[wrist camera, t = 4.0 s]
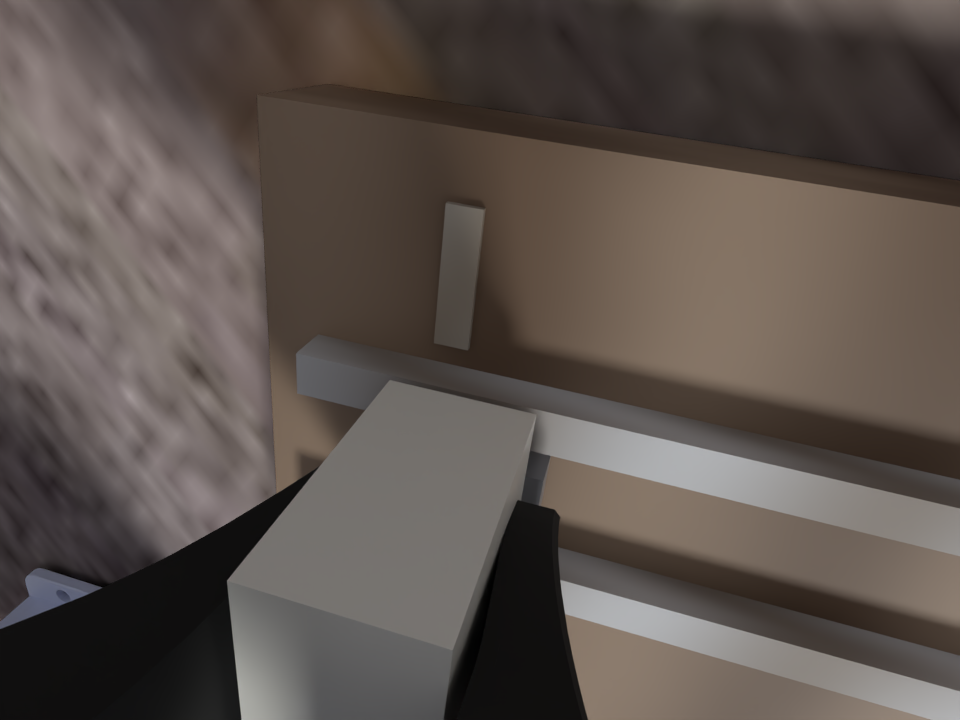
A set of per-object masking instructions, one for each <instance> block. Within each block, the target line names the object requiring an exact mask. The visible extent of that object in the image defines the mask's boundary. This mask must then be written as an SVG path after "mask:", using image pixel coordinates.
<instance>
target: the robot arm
mask: <svg viewBox="0 0 960 720" xmlns="http://www.w3.org/2000/svg"><path fill="white" fill-rule="evenodd" d="M319 467H320V466H319ZM319 467H317V468H316V469H314V470H313V471H311V472H310V473H308V474H306V475H305V476H303V477H302V478H300V479H299V480H297V481H296V482H294V483H292V484H291V485H289V486H288V487H286V488H285V489H283V490H281V491H280V492H278V493H277V494H275V495H273V496H272V497H270V498H269V499H267V500H265V501H264V502H262V503H261V504H259V505H257V506H256V507H254V508H252V509H251V510H249V511H247V512H246V513H244V514H242V515H241V516H239V517H238V518H236V519H234V520H233V521H231V522H229V523H228V524H226V525H224V526H222V527H221V528H219V529H217V530H215V531H213V532H212V533H210V534H208V535H206V536H204V537H203V538H201V539H199V540H197V541H195V542H194V543H192V544H190V545H188V546H186V547H185V548H183V549H181V550H179V551H177V552H176V553H174V554H172V555H170V556H168V557H166V558H164V559H162V560H160V561H158V562H156V563H154V564H152V565H150V566H148V567H146V568H144V569H142V570H140V571H138V572H136V573H134V574H131V575H129V576H127V577H125V578H123V579H121V580H118V581H116V582H114V583H112V584H110V585H107V586H105V587H103V588H102V587H99V586H96V585H93V584H90V583H87V582H84V581H81V580H78V579H74V578H71V577H68V576H65V575H62V574H59V573H56V572H53V571H50V570H46V569H42V568H37V569H35V570H33V571H32V572H31V573H30V574H29V575H27V577H26V578H25V582H26V587H27V590H28V593H29V596H30V597H28V598H27V599H25V600H24V601H23V602H22V603H21V604H20V605H19V606H17V607H16V608H15V609H14V610H13V611H12V612H11V613H10V614H8V615H7V616H6V617H5V618H4V619H3V620H2V621H0V720H242V719H241V710H240V700H239V691H238V681H237V672H236V662H235V653H234V643H233V634H232V624H231V615H230V605H229V596H228V586H227V580H228V579H229V578H230V576H231V575H232V574H233V573H234V571H235V570H236V569H237V568H238V567H239V565H240V564H241V563H242V562H243V560H244V559H245V558H246V557H247V555H248V554H249V553H250V552H251V550H252V549H253V548H254V547H255V546H256V544H257V543H258V542H259V541H260V539H261V538H262V537H263V536H264V534H265V533H266V532H267V531H268V530H269V528H270V527H271V526H272V525H273V523H274V522H275V521H276V520H277V518H278V517H279V516H280V515H281V513H282V512H283V511H284V510H285V509H286V507H287V506H288V505H289V504H290V502H291V501H292V500H293V499H294V497H295V496H296V495H297V494H298V493H299V491H300V490H301V489H302V488H303V486H304V485H305V484H306V483H307V481H308V480H309V479H310V478H311V476H312V475H313V474H314V473H315V472H316V470H317V469H318V468H319ZM559 522H560V516H559V515H558V513H557V512H556V510H554V509H551V508H547V507H543V506H539V505H535V504H531V503H527V502H524V501H520V500H517V502H516V505H515V507H514V509H513V512H512V514H511V517H510V519H509V522H508V524H507V527H506V529H505V532H504V535H503V540H502V545H501V550H500V555H499V559H498V564H497V569H496V574H495V579H494V584H493V589H492V594H491V598H490V603H489V608H488V613H487V618H486V623H485V628H484V632H483V637H482V641H481V645H480V648H479V652H478V656H477V660H476V663H475V666H474V669H473V672H472V675H471V678H470V681H469V684H468V687H467V690H466V693H465V696H464V699H463V702H462V704H461V707H460V710H459V713H458V716H457V719H456V720H588V717H587V714H586V710H585V706H584V702H583V698H582V694H581V690H580V686H579V682H578V678H577V673H576V669H575V664H574V660H573V655H572V651H571V645H570V640H569V635H568V630H567V623H566V617H565V610H564V604H563V598H562V590H561V582H560V570H559V556H558V533H559Z"/></svg>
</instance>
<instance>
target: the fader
mask: <svg viewBox="0 0 960 720" xmlns="http://www.w3.org/2000/svg"><path fill="white" fill-rule="evenodd" d="M535 420H536V414H532V413H528V412H524V411H520V410H515V409H511V408H507V407H503V406H498V405H494V404H490V403H486V402H481V401H477V400H473V399H469V398H464V397H460V396H456V395H452V394H447V393H443V392H439V391H435V390H430V389H426V388H422V387H418V386H413V385H409V384H405V383H401V382H396V381H392V380H389V382H388V383H387V384H386V385H385V386H384V388H383V389H382V390H381V391H380V393H379V394H378V395H377V396H376V398H375V399H374V400H373V401H372V402H371V404H370V405H369V406H368V407H367V409H366V410H365V411H364V412H363V414H362V415H361V416H360V417H359V419H358V420H357V421H356V422H355V423H354V425H353V426H352V427H351V428H350V430H349V431H348V432H347V433H346V435H345V436H344V437H343V438H342V439H341V441H340V442H339V443H338V444H337V446H336V447H335V448H334V449H333V451H332V452H331V453H330V454H329V456H328V457H327V458H326V459H325V460H324V462H323V463H322V464H321V465H320V467H319V468H318V469H317V470H316V472H315V473H314V474H313V475H312V476H311V478H310V479H309V480H308V481H307V483H306V484H305V485H304V486H303V488H302V489H301V490H300V491H299V493H298V494H297V495H296V496H295V497H294V499H293V500H292V501H291V502H290V504H289V505H288V506H287V507H286V509H285V510H284V511H283V512H282V513H281V515H280V516H279V517H278V518H277V520H276V521H275V522H274V523H273V525H272V526H271V527H270V528H269V530H268V531H267V532H266V533H265V534H264V536H263V537H262V538H261V539H260V541H259V542H258V543H257V544H256V546H255V547H254V548H253V549H252V550H251V552H250V553H249V554H248V555H247V557H246V558H245V559H244V560H243V562H242V563H241V564H240V565H239V567H238V568H237V569H236V570H235V571H234V573H233V574H232V575H231V576H230V578H229V579H228V580H227V586H228V596H229V605H230V615H231V624H232V634H233V643H234V653H235V662H236V672H237V681H238V691H239V700H240V710H241V719H242V720H456V719H457V716H458V713H459V710H460V707H461V704H462V702H463V699H464V696H465V693H466V690H467V687H468V684H469V681H470V678H471V675H472V672H473V669H474V666H475V663H476V660H477V656H478V652H479V648H480V645H481V641H482V637H483V632H484V628H485V623H486V618H487V613H488V608H489V603H490V598H491V594H492V589H493V584H494V579H495V574H496V569H497V564H498V559H499V555H500V550H501V545H502V540H503V535H504V532H505V529H506V527H507V524H508V522H509V519H510V517H511V514H512V512H513V509H514V507H515V505H516V502H517V500H520V501H524V502H527V503H531V504H535V505H539V506H541V503H542V498H543V493H544V488H545V483H546V478H547V473H548V468H549V463H550V458H551V456H550V455H546V454H541V453H537V452H533V451H530V448H531V442H532V437H533V431H534V425H535Z"/></svg>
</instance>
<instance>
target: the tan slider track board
mask: <svg viewBox="0 0 960 720" xmlns="http://www.w3.org/2000/svg"><path fill="white" fill-rule="evenodd" d="M257 113H258V133H259V153H260V173H261V193H262V213H263V233H264V253H265V273H266V293H267V313H268V333H269V353H270V373H271V393H272V413H273V433H274V452H275V472H276V492H277V493H278V492H280V491H281V490H283V489H285V488H286V487H288V486H289V485H291V484H292V483H294V482H296V481H297V480H299V479H300V478H302V477H303V476H305V475H306V474H308V473H310V472H311V471H313V470H314V469H316V468H317V467H319V466H320V465H321V464H322V463H323V462H324V460H325V459H326V458H327V457H328V456H329V454H330V453H331V452H332V451H333V449H334V448H335V447H336V446H337V444H338V443H339V442H340V441H341V439H342V438H343V437H344V436H345V435H346V433H347V432H348V431H349V430H350V428H351V427H352V426H353V425H354V423H355V422H356V421H357V420H358V419H359V417H360V416H361V415H362V414H363V412H364V411H365V410H366V409H367V407H368V406H369V405H370V404H371V402H372V401H373V400H374V399H375V398H376V396H377V395H378V394H379V393H380V391H381V390H382V389H383V388H384V386H385V385H386V384H387V383H388V382H389V380H392V381H396V382H401V383H405V384H409V385H413V386H418V387H422V388H426V389H430V390H435V391H439V392H443V393H447V394H452V395H456V396H460V397H464V398H469V399H473V400H477V401H481V402H486V403H490V404H494V405H498V406H503V407H507V408H511V409H515V410H520V411H524V412H528V413H532V414H536V420H535V425H534V431H533V437H532V442H531V448H530V451H533V452H537V453H541V454H546V455H550V456H551V458H550V463H549V468H548V473H547V478H546V483H545V488H544V493H543V498H542V503H541V506H543V507H547V508H551V509H554V510H556V512H557V513H558V515H559V516H560V522H559V533H558V556H559V570H560V582H561V590H562V598H563V604H564V610H565V617H566V623H567V630H568V635H569V640H570V645H571V651H572V655H573V660H574V664H575V669H576V673H577V678H578V682H579V686H580V690H581V694H582V698H583V702H584V706H585V710H586V714H587V717H588V720H960V181H958V180H952V179H945V178H939V177H932V176H926V175H919V174H913V173H906V172H900V171H893V170H886V169H880V168H873V167H867V166H860V165H854V164H847V163H841V162H834V161H828V160H821V159H814V158H808V157H801V156H795V155H788V154H782V153H775V152H769V151H762V150H756V149H749V148H743V147H736V146H729V145H723V144H716V143H710V142H703V141H697V140H690V139H684V138H677V137H671V136H664V135H657V134H651V133H644V132H638V131H631V130H625V129H618V128H612V127H605V126H599V125H592V124H586V123H579V122H572V121H566V120H559V119H553V118H546V117H540V116H533V115H527V114H520V113H514V112H507V111H500V110H494V109H487V108H481V107H474V106H468V105H461V104H455V103H448V102H442V101H435V100H429V99H422V98H415V97H409V96H402V95H396V94H389V93H383V92H376V91H370V90H363V89H357V88H350V87H343V86H337V85H330V84H325V85H319V86H312V87H305V88H299V89H292V90H286V91H279V92H273V93H266V94H260V95H257Z"/></svg>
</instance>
